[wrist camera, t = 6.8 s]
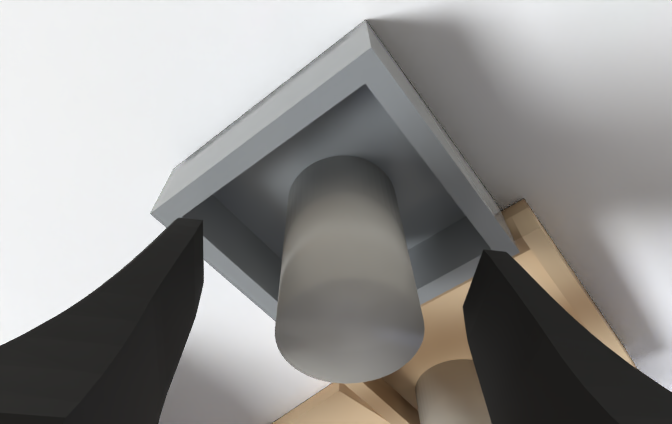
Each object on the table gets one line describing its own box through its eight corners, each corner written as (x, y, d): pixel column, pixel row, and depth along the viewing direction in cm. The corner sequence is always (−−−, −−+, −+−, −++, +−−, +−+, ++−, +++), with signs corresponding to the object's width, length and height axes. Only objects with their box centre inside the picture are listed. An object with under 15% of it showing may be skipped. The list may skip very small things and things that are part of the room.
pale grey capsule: (416, 212, 17) (451, 344, 12) (330, 262, 18) (333, 401, 13) (355, 134, 15) (370, 252, 11) (265, 194, 16) (243, 325, 12)
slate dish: (497, 204, 17) (519, 252, 15) (320, 306, 20) (319, 358, 18) (365, 19, 14) (371, 47, 12) (173, 168, 16) (149, 213, 14)
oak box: (625, 349, 21) (645, 381, 20) (433, 431, 24) (439, 464, 23) (524, 198, 17) (540, 227, 16) (309, 319, 20) (307, 352, 19)
